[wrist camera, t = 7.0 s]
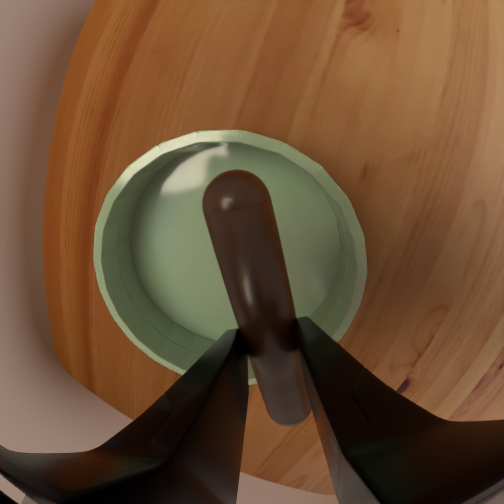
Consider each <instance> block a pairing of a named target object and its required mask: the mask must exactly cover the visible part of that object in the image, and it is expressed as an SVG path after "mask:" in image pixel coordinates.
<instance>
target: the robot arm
mask: <svg viewBox="0 0 504 504" xmlns="http://www.w3.org/2000/svg"><path fill="white" fill-rule="evenodd" d="M294 324H295V333H296V341H297V346H298V351H299V356H300V361H301V366H302V371H303V377H304V382H305V387H306V390H307V394H308V397H309V401H310V404H311V408H312V411H313V415H314V418H315V422H316V425H317V429H318V432H319V436H320V439H321V443H322V446H323V450H324V453H325V457H326V460H327V464H328V467H329V471H330V475H331V478H332V482H333V485H334V489H335V493H336V496H337V500H338V503H339V504H504V420H491V421H463V422H457V421H448V420H445V419H442V418H440V417H437V416H435V415H433V414H432V413H430V412H428V411H427V410H425V409H423V408H422V407H420V406H418V405H417V404H415V403H414V402H412V401H410V400H409V399H407V398H406V397H404V396H402V395H401V394H399V393H398V392H396V391H395V390H393V389H392V388H390V387H389V386H387V385H386V384H385V383H383V382H382V381H381V380H380V379H378V378H377V377H376V376H375V375H373V374H372V373H371V372H370V371H369V370H368V369H367V368H365V367H364V366H363V365H362V364H361V363H360V362H359V361H357V360H356V359H355V358H354V357H353V356H352V355H351V354H349V353H348V352H347V351H346V350H345V349H344V348H343V347H341V346H340V345H339V344H338V343H337V342H336V341H335V340H334V339H332V338H331V337H330V336H329V335H328V334H327V333H326V332H325V331H323V330H322V329H321V328H320V327H319V326H318V325H317V324H316V323H314V322H313V321H312V320H311V319H310V318H309V317H307V316H304V317H299V318H295V320H294ZM164 394H165V395H162V396H161V397H160V398H159V399H158V400H157V401H156V402H155V403H154V404H152V405H151V406H150V407H149V408H148V409H147V410H146V411H145V412H144V413H142V414H141V415H140V416H139V417H138V418H136V419H135V420H134V421H133V422H131V423H130V424H129V425H128V426H126V427H125V428H124V429H122V430H121V431H120V432H118V433H117V434H116V435H115V436H113V437H112V438H110V439H109V440H108V441H107V442H105V443H104V444H102V445H101V446H99V447H97V448H95V449H92V450H90V451H86V452H77V453H22V452H15V451H11V450H8V449H6V448H4V447H3V446H1V445H0V474H1V475H2V476H3V477H4V478H6V479H7V480H8V481H9V482H11V483H12V484H13V485H14V486H15V487H17V488H18V489H19V490H21V491H22V492H23V493H25V494H26V495H25V497H24V499H23V501H22V503H21V504H236V498H237V491H238V483H239V475H240V467H241V458H242V450H243V441H244V432H245V424H246V415H247V406H248V395H249V383H248V354H247V351H246V348H245V345H244V342H243V339H242V336H241V333H240V330H239V328H236V329H229V330H226V331H225V332H224V333H223V334H222V335H221V337H220V338H219V339H218V340H217V341H216V342H215V343H214V344H213V345H212V346H211V347H210V348H209V349H208V350H207V351H206V352H205V353H204V354H203V355H202V356H201V357H200V358H199V359H198V360H197V361H196V362H195V363H194V364H193V365H192V366H191V367H190V368H189V369H188V370H187V371H186V372H185V373H184V374H183V375H182V376H181V377H180V378H179V379H178V380H177V381H176V382H175V383H174V384H173V385H172V386H171V387H170V388H169V389H168V390H167V391H166V392H165V393H164ZM0 504H18V503H17V502H15V501H14V500H13V499H11V498H10V497H8V496H7V495H6V494H4V493H3V492H2V491H1V490H0Z"/></svg>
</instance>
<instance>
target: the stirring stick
mask: <svg viewBox="0 0 504 504" xmlns="http://www.w3.org/2000/svg"><path fill="white" fill-rule="evenodd" d="M202 209H203V214H204V218H205V221H206V225H207V228H208V232H209V235H210V238H211V242H212V245H213V248H214V252H215V255H216V258H217V262H218V265H219V268H220V271H221V275H222V278H223V281H224V284H225V287H226V291H227V294H228V297H229V300H230V303H231V306H232V309H233V313H234V316H235V319H236V322H237V325H238V328H239V330H240V333H241V336H242V339H243V342H244V345H245V348H246V351H247V354H248V358H249V361H250V363H251V366H252V369H253V372H254V375H255V378H256V381H257V384H258V386H259V389H260V392H261V395H262V398H263V400H264V403H265V406H266V409H267V411H268V414H269V416H270V417H271V419H272V420H273V421H275V422H276V423H278V424H279V425H283V426H295V425H298V424H300V423H302V422H303V421H304V420H306V418H307V417H308V416H309V414H310V412H311V409H312V408H311V404H310V401H309V397H308V394H307V390H306V387H305V382H304V377H303V371H302V366H301V361H300V356H299V351H298V346H297V341H296V333H295V324H294V320H295V318H297V317H296V312H295V307H294V302H293V297H292V292H291V287H290V282H289V278H288V273H287V268H286V263H285V259H284V254H283V249H282V245H281V240H280V236H279V231H278V227H277V222H276V218H275V213H274V209H273V205H272V200H271V196H270V193H269V190H268V188H267V187H266V185H265V183H264V182H263V181H262V180H261V179H260V178H259V177H258V176H256V175H255V174H253V173H251V172H249V171H245V170H239V169H234V170H228V171H225V172H222V173H220V174H219V175H217V176H216V177H214V178H213V179H212V180H211V181H210V183H209V184H208V185H207V187H206V189H205V191H204V194H203V198H202Z"/></svg>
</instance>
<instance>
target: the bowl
mask: <svg viewBox="0 0 504 504" xmlns="http://www.w3.org/2000/svg"><path fill="white" fill-rule="evenodd" d="M234 169H239V170H245V171H249V172H251V173H253V174H255V175H256V176H258V177H259V178H260V179H261V180H262V181H263V182H264V183H265V185H266V187H267V188H268V190H269V193H270V196H271V200H272V205H273V209H274V213H275V218H276V222H277V227H278V231H279V236H280V240H281V245H282V249H283V254H284V259H285V263H286V268H287V273H288V278H289V282H290V287H291V292H292V297H293V302H294V307H295V312H296V317H297V318H299V317H304V316H307V317H309V318H310V319H311V320H312V321H313V322H314V323H316V324H317V325H318V326H319V327H320V328H321V329H322V330H323V331H325V332H326V333H327V334H328V335H329V336H330V337H331V338H332V339H334V340H335V341H336V342H338V341H339V340H340V339H341V338H342V337H343V336H344V335H345V333H346V332H347V330H348V328H349V326H350V324H351V323H352V321H353V319H354V317H355V315H356V313H357V311H358V309H359V307H360V304H361V302H362V297H363V293H364V288H365V283H366V278H367V272H368V271H367V270H368V268H367V257H366V247H365V238H364V233H363V230H362V228H361V226H360V223H359V221H358V218H357V216H356V214H355V211H354V209H353V207H352V204H351V202H350V200H349V199H348V197H347V195H346V194H345V193H344V192H343V190H342V189H341V188H340V187H339V186H338V184H337V183H336V182H335V181H334V180H333V179H332V177H331V176H330V175H329V174H328V173H327V172H326V170H325V169H324V168H323V167H322V166H321V165H319V164H318V163H316V162H315V161H313V160H312V159H310V158H309V157H307V156H306V155H304V154H303V153H301V152H300V151H298V150H297V149H295V148H293V147H292V146H290V145H289V144H287V143H285V142H283V141H280V140H276V139H273V138H270V137H266V136H263V135H259V134H256V133H252V132H248V131H245V130H199V131H195V132H192V133H188V134H185V135H182V136H179V137H176V138H173V139H170V140H168V141H165V142H162V143H160V144H158V145H156V146H155V147H153V148H152V149H150V150H149V151H148V152H146V153H145V154H144V155H142V156H141V157H139V158H138V159H137V160H135V161H134V162H133V163H131V164H130V165H129V166H128V167H127V168H126V169H125V170H124V172H123V173H122V174H121V176H120V177H119V178H118V180H117V181H116V182H115V184H114V185H113V187H112V188H111V189H110V191H109V192H108V194H107V196H106V198H105V200H104V203H103V206H102V209H101V211H100V214H99V217H98V220H97V223H96V227H95V237H94V254H93V258H94V266H95V271H96V276H97V281H98V285H99V289H100V292H101V294H102V296H103V298H104V301H105V303H106V305H107V307H108V309H109V311H110V313H111V315H112V317H113V319H114V320H115V321H116V323H117V324H118V325H119V326H120V328H121V329H122V330H123V332H124V333H125V334H126V335H127V337H128V338H129V339H130V340H131V341H132V342H133V343H134V344H135V345H136V346H137V347H139V348H140V349H141V350H142V351H143V352H145V353H146V354H147V355H148V356H149V357H151V358H152V359H153V360H155V361H156V362H158V363H160V364H162V365H164V366H165V367H167V368H169V369H171V370H173V371H175V372H177V373H179V374H182V375H183V374H184V373H185V372H186V371H187V370H188V369H189V368H190V367H191V366H192V365H193V364H194V363H195V362H196V361H197V360H198V359H199V358H200V357H201V356H202V355H203V354H204V353H205V352H206V351H207V350H208V349H209V348H210V347H211V346H212V345H213V344H214V343H215V342H216V341H217V340H218V339H219V338H220V337H221V335H222V334H223V333H224V332H225V331H226V330H229V329H236V328H238V325H237V322H236V319H235V316H234V313H233V309H232V306H231V303H230V300H229V297H228V294H227V291H226V287H225V284H224V281H223V278H222V275H221V271H220V268H219V265H218V262H217V258H216V255H215V252H214V248H213V245H212V242H211V238H210V235H209V232H208V228H207V225H206V221H205V218H204V214H203V209H202V198H203V194H204V191H205V189H206V187H207V185H208V184H209V183H210V181H211V180H212V179H213V178H214V177H216V176H217V175H219V174H220V173H222V172H225V171H228V170H234ZM248 383H249V385H253V384H257V381H256V378H255V375H254V372H253V369H252V366H251V363H250V361H249V358H248Z"/></svg>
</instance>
